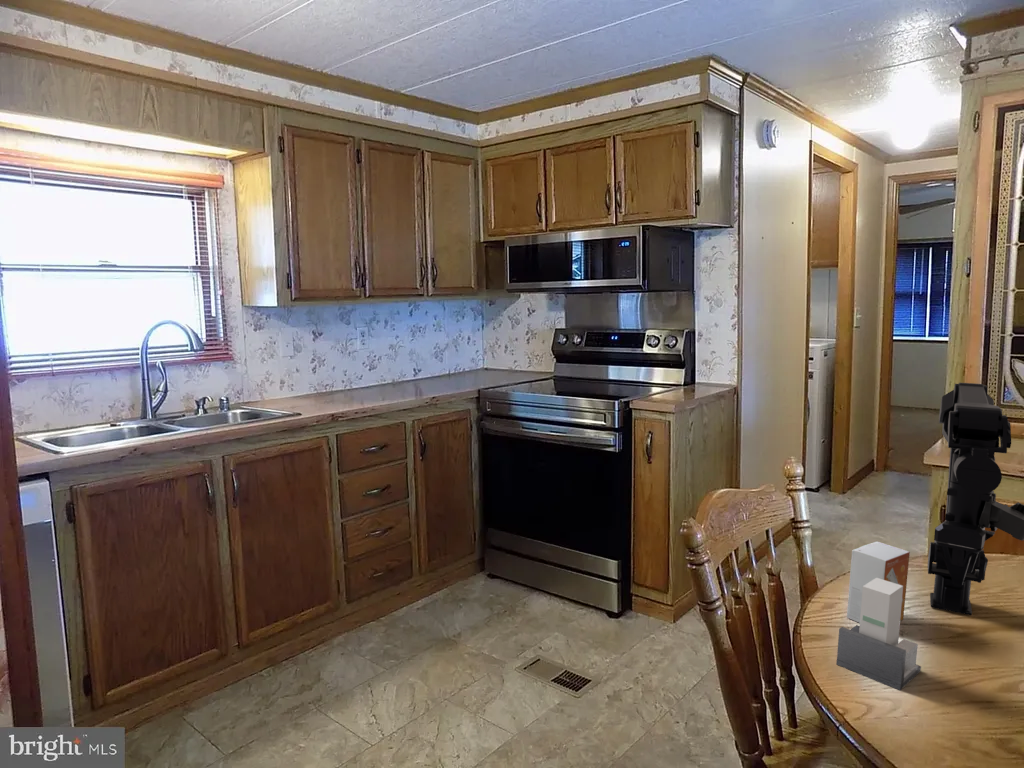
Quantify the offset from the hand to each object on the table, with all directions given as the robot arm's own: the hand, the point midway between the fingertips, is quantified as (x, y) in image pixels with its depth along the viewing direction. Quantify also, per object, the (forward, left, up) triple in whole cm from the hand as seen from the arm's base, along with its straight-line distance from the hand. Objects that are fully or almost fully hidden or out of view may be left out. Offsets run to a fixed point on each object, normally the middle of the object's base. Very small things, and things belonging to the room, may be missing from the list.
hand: (962, 578), depth 114 cm
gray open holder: (+12, -11, -13) cm, 21 cm away
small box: (-6, -12, -13) cm, 19 cm away
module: (+12, -11, -11) cm, 20 cm away
